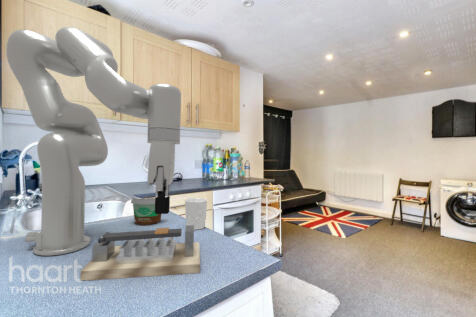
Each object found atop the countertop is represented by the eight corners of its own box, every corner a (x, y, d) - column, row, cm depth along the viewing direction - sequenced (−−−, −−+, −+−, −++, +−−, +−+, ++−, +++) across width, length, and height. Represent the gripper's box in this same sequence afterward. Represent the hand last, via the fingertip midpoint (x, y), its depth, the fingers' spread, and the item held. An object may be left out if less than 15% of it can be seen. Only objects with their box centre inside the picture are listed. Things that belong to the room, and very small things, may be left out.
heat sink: (87, 266, 49) (88, 238, 49) (104, 249, 58) (104, 225, 58) (193, 260, 53) (193, 234, 53) (193, 245, 62) (194, 222, 62)
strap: (97, 243, 52) (97, 236, 52) (104, 237, 56) (104, 231, 55) (180, 237, 55) (180, 231, 55) (181, 232, 59) (181, 226, 59)
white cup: (207, 224, 88) (208, 198, 88) (205, 230, 80) (205, 202, 80) (186, 223, 88) (187, 197, 88) (182, 230, 80) (183, 201, 80)
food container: (127, 227, 82) (128, 199, 82) (130, 222, 88) (131, 196, 88) (164, 225, 85) (164, 198, 85) (164, 220, 91) (165, 195, 91)
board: (80, 280, 47) (80, 271, 47) (105, 254, 60) (105, 246, 60) (199, 272, 51) (199, 263, 51) (199, 249, 64) (199, 242, 64)
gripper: (153, 139, 63) (151, 206, 63) (140, 134, 48) (138, 222, 48) (181, 140, 64) (180, 206, 64) (177, 135, 49) (175, 221, 49)
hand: (162, 212), depth 56 cm, fingers closed
